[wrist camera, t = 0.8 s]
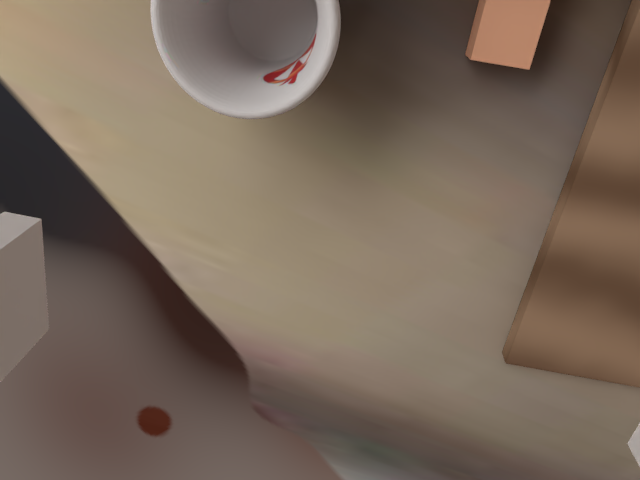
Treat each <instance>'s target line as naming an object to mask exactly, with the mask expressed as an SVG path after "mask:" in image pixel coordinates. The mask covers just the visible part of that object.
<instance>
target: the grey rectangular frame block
mask: <svg viewBox="0 0 640 480" xmlns="http://www.w3.org/2000/svg"><path fill="white" fill-rule="evenodd" d="M550 1H551V0H479V2H478V6H477V10H476V14H475V18H474V22H473V26H472V30H471V34H470V38H469V41H468V45H467V49H466V53H465V55H466V56H467V57H468V58H469V59H470V60H475V61H481V62H487V63H493V64H499V65H504V66H510V67H516V68H522V69H528V70H529V69H530V66H531V63H532V59H533V56H534V53H535V50H536V47H537V43H538V40H539V37H540V34H541V30H542V27H543V24H544V21H545V17H546V14H547V11H548V8H549V4H550Z"/></svg>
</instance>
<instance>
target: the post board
mask: <svg viewBox="0 0 640 480" xmlns="http://www.w3.org/2000/svg"><path fill="white" fill-rule="evenodd" d="M502 353H503V356H504V359H505V362H506V363H507V364H513V365H519V366H524V367H530V368H535V369H541V370H546V371H552V372H557V373H563V374H568V375H574V376H580V377H585V378H591V379H596V380H602V381H607V382H613V383H618V384H624V385H629V386H635V387H640V0H632V1H631V4H630V7H629V9H628V12H627V15H626V18H625V20H624V23H623V26H622V28H621V31H620V34H619V37H618V39H617V42H616V45H615V47H614V50H613V53H612V56H611V58H610V61H609V64H608V66H607V69H606V72H605V75H604V77H603V80H602V83H601V85H600V88H599V91H598V94H597V96H596V99H595V102H594V104H593V107H592V110H591V113H590V115H589V118H588V121H587V123H586V126H585V129H584V132H583V134H582V137H581V140H580V142H579V145H578V148H577V150H576V153H575V156H574V159H573V161H572V164H571V167H570V169H569V172H568V175H567V178H566V180H565V183H564V186H563V188H562V191H561V194H560V197H559V199H558V202H557V205H556V207H555V210H554V213H553V216H552V218H551V221H550V224H549V226H548V229H547V232H546V235H545V237H544V240H543V243H542V245H541V248H540V251H539V254H538V256H537V259H536V262H535V264H534V267H533V270H532V273H531V275H530V278H529V281H528V283H527V286H526V289H525V291H524V294H523V297H522V300H521V302H520V305H519V308H518V310H517V313H516V316H515V319H514V321H513V324H512V327H511V329H510V332H509V335H508V338H507V340H506V343H505V346H504V348H503V351H502Z"/></svg>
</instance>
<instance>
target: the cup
mask: <svg viewBox="0 0 640 480" xmlns="http://www.w3.org/2000/svg"><path fill="white" fill-rule="evenodd" d="M151 22H152V29H153V34H154V38H155V42H156V45H157V48H158V51H159V53H160V55H161V58H162V60H163V62H164V64H165V65H166V67H167V69H168V70H169V72H170V73H171V75H172V76H173V78H174V79H175V80H176V82H177V83H178V84H179V85H180V86H181V87H182V88H183V90H185V91H186V92H187V93H188V94H189V95H190V96H191V97H192V98H194V99H195V100H196V101H198V102H199V103H201V104H202V105H204V106H206V107H207V108H209V109H211V110H213V111H216V112H218V113H220V114H223V115H227V116H230V117H235V118H242V119H262V118H268V117H272V116H276V115H279V114H282V113H284V112H287V111H289V110H291V109H293V108H295V107H296V106H298V105H299V104H301V103H302V102H304V101H305V100H306V99H307V98H308V97H309V96H311V95H312V94H313V93H314V91H315V90H316V89H317V88H318V87H319V86H320V84H321V83H322V82H323V80H324V79H325V77H326V75H327V74H328V72H329V70H330V68H331V66H332V63H333V61H334V58H335V56H336V52H337V49H338V44H339V39H340V30H341V15H340V5H339V0H151Z"/></svg>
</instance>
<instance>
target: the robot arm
mask: <svg viewBox="0 0 640 480" xmlns="http://www.w3.org/2000/svg"><path fill="white" fill-rule="evenodd" d="M48 330H49V322H48V306H47V293H46V278H45V263H44V249H43V235H42V221H41V219H39V218H33V217H29V216H23V215H18V214H13V213H8V212H3V213H2V214H0V382H1V381H2V380H3V379H4V378H5V377H6V376H7V374H8V373H9V372H10V371H11V370H12V369H13V368H14V367H15V366H16V364H18V363H19V361H20V360H21V359H22V358H23V357H24V356H25V355H26V354H27V353H28V352H29V350H30V349H31V348H32V347H33V346H34V345H35V344H36V343H37V342H38V341H39V340H40V338H41V337H42V336H43V335H44V334H45V333H46V332H47V331H48ZM627 444H628V446H629V448H630V450H631V452H632V454H633V455H634V457H635V459H636V461H637V463H638V465H639V467H640V423H639V425H638V427H637V428H636V430H635V432H634V433H633V435H632V437H631V438H630V440H629V442H628V443H627Z"/></svg>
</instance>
